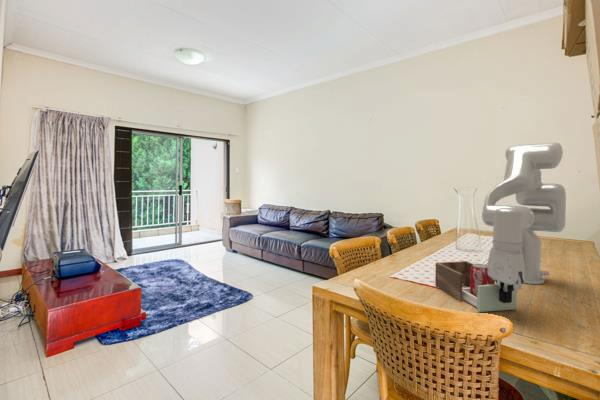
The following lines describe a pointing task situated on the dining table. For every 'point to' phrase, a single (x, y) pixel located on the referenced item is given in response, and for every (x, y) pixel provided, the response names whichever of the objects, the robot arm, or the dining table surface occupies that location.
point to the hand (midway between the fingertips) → (505, 301)
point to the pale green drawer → (488, 298)
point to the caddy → (453, 277)
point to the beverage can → (478, 277)
